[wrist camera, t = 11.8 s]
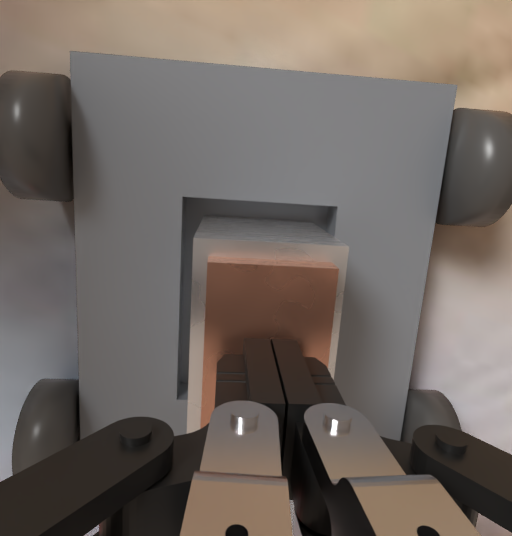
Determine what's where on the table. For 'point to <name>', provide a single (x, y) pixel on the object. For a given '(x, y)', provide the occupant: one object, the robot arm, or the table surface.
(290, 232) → the block
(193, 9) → the table surface
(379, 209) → the chassis
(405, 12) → the table surface
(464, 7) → the table surface
